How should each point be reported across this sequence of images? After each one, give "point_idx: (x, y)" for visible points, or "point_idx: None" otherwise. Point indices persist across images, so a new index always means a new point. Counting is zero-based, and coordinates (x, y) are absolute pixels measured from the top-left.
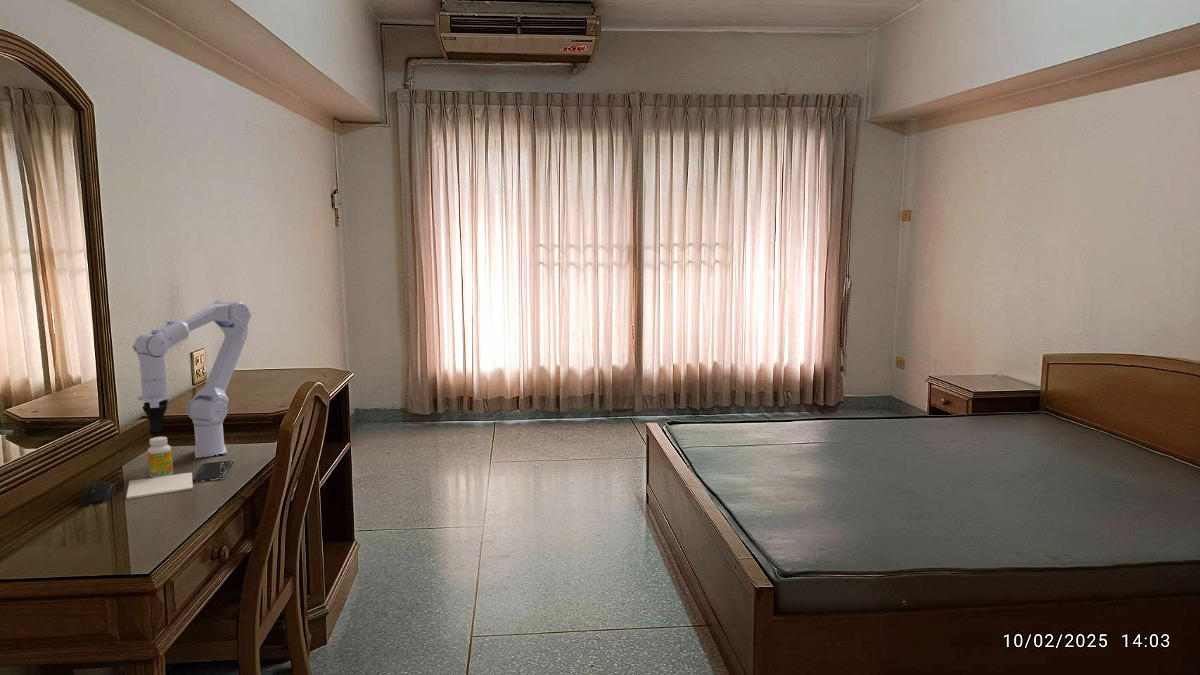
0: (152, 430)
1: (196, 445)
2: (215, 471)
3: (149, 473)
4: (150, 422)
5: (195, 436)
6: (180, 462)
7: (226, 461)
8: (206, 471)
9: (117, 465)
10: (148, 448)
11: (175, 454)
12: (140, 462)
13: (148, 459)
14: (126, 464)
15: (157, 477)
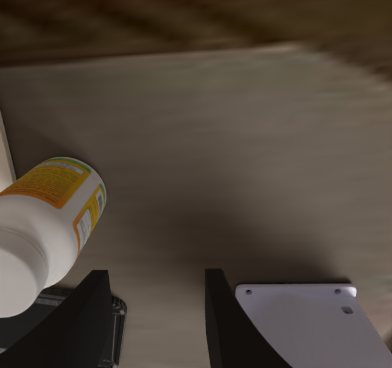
0: (87, 276)
1: (280, 316)
2: (17, 331)
3: (53, 159)
4: (50, 317)
5: (293, 346)
6: (215, 243)
7: (116, 357)
8: (26, 312)
9: (319, 18)
10: (7, 208)
11: (347, 228)
12: (308, 113)
13: (16, 183)
14: (311, 58)
15: (6, 184)
